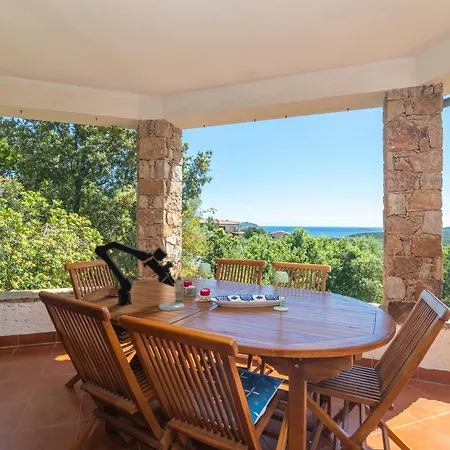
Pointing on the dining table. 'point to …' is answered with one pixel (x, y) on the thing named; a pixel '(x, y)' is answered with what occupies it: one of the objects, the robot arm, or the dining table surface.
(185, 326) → the dining table surface
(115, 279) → the potted flower
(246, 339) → the dining table surface
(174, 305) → the plate
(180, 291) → the beige striped cylinder
